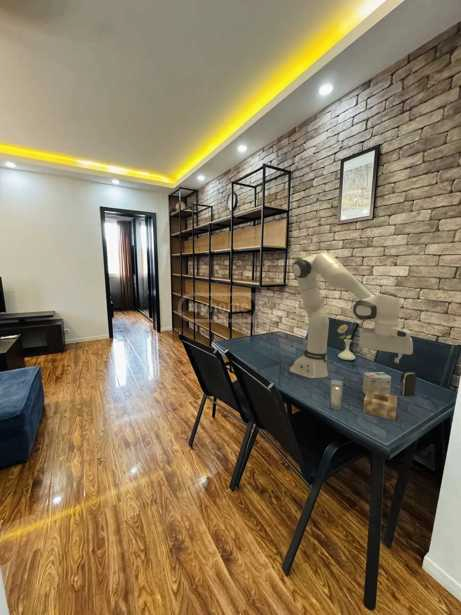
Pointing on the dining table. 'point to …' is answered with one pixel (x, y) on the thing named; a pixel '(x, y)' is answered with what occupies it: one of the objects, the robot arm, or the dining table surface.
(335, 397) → the steel peg
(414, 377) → the battery charger
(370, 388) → the light bulb box
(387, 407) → the socket block
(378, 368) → the dining table surface
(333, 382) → the square bit
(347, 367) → the dining table surface
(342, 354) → the flower in vase
